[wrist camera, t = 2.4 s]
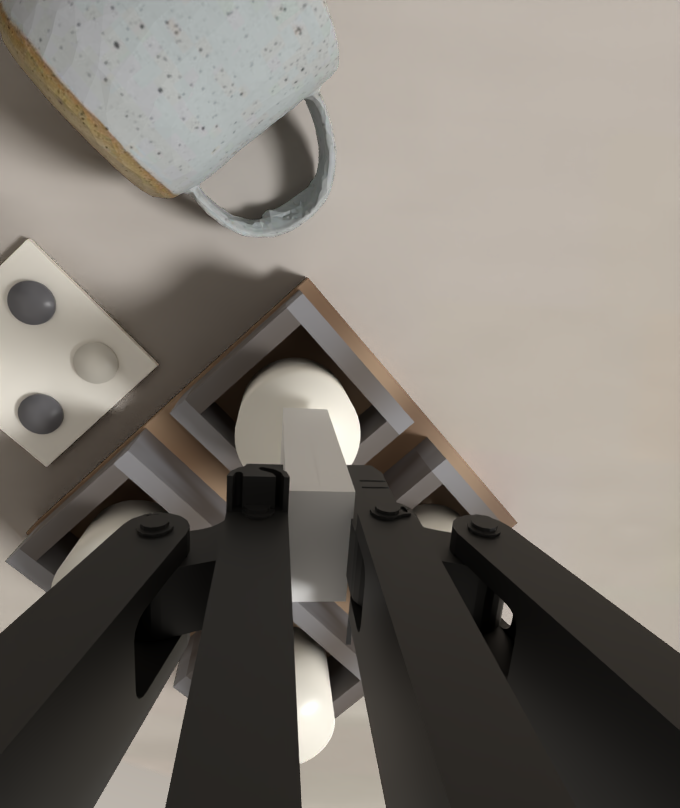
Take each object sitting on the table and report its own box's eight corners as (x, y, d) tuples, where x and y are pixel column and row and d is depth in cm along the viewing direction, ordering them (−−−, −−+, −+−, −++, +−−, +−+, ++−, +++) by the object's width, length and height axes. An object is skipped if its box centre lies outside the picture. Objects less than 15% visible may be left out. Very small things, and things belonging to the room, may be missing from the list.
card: (-86, 352, 21) (-94, 354, 21) (31, 239, 21) (25, 238, 20) (49, 464, 23) (44, 469, 23) (159, 364, 23) (156, 366, 22)
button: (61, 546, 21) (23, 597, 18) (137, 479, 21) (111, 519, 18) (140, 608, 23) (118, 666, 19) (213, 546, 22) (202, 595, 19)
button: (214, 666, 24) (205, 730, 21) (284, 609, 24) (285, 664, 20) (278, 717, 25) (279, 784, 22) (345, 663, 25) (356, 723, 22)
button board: (37, 520, 24) (-8, 569, 20) (306, 277, 22) (313, 280, 19) (270, 704, 28) (269, 773, 25) (507, 511, 27) (545, 553, 23)
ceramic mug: (41, 65, 19) (-98, -50, 12) (199, -93, 19) (154, -318, 11) (237, 282, 22) (222, 296, 15) (378, 154, 22) (434, 104, 14)
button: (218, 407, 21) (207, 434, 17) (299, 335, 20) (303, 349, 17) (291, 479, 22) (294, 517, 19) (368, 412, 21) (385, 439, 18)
